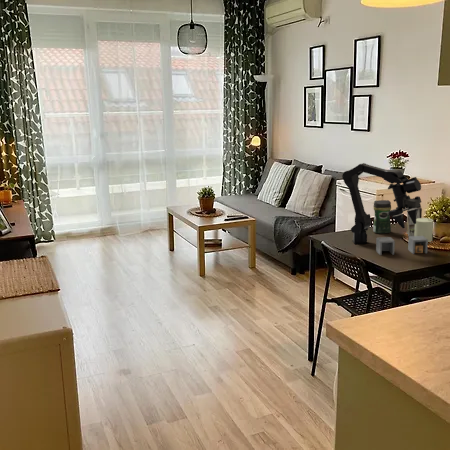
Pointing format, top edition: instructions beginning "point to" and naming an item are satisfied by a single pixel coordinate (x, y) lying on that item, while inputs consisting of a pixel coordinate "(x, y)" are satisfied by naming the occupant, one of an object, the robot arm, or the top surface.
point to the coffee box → (410, 224)
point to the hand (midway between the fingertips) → (409, 226)
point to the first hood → (385, 245)
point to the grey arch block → (417, 240)
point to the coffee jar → (382, 217)
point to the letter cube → (418, 248)
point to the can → (424, 228)
